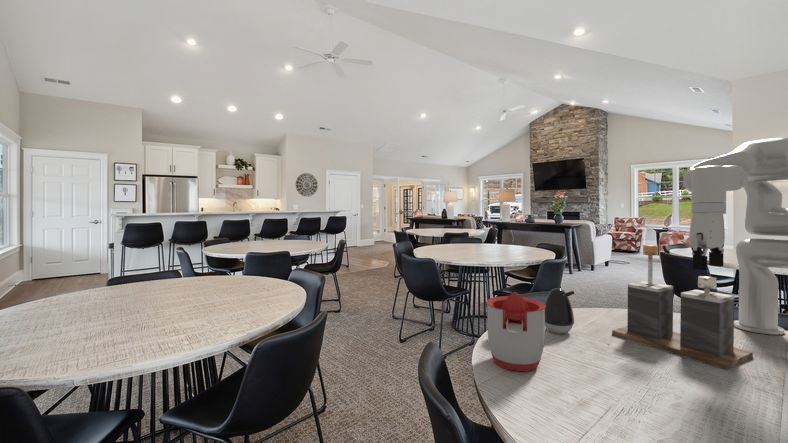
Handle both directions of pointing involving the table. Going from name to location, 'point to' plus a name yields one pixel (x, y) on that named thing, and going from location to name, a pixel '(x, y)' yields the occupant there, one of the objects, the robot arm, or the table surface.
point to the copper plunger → (650, 259)
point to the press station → (684, 324)
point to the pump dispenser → (558, 311)
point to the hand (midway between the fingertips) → (708, 267)
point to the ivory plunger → (707, 283)
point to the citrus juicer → (516, 331)
